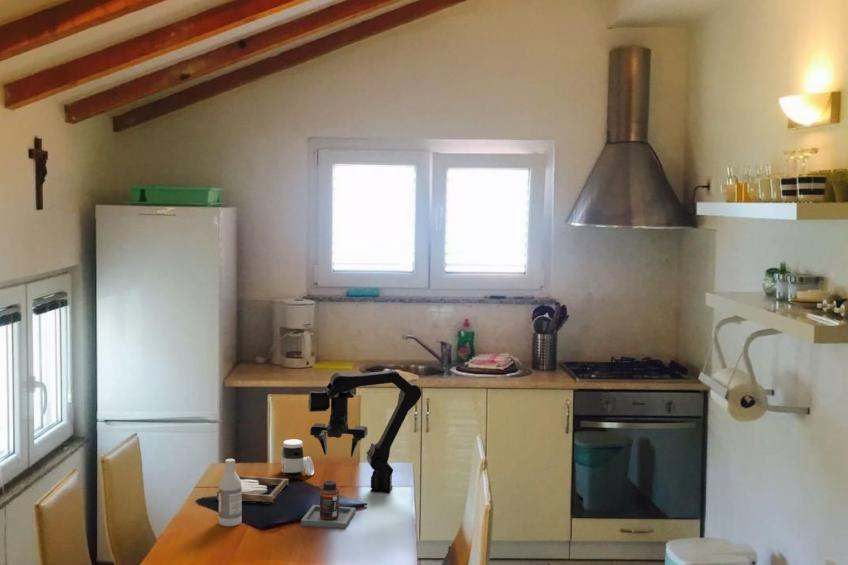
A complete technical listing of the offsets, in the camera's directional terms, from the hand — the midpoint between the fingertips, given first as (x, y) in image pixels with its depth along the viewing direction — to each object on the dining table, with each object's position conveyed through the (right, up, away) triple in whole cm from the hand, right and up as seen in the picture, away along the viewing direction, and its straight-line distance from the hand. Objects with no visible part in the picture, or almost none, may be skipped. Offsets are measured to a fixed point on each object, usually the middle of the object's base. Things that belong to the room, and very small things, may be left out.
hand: (338, 455), depth 314 cm
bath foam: (-31, -16, -28) cm, 45 cm away
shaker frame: (-29, -13, -1) cm, 31 cm away
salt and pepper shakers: (-30, -13, -1) cm, 33 cm away
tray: (-1, -16, -24) cm, 28 cm away
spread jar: (-17, -11, +21) cm, 29 cm away
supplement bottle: (-1, -15, -24) cm, 28 cm away
